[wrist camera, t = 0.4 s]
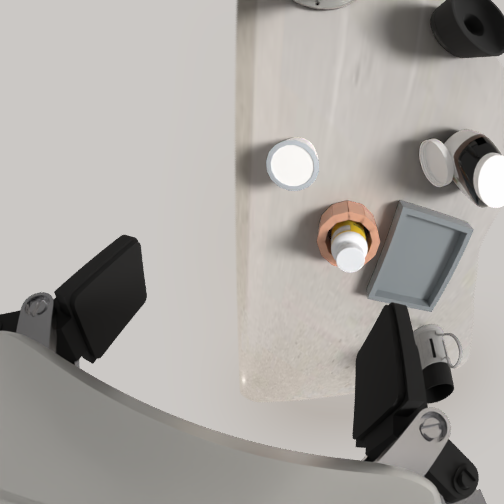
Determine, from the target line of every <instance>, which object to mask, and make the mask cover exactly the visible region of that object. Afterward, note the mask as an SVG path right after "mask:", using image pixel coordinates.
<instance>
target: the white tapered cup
mask: <svg viewBox="0 0 504 504" xmlns="http://www.w3.org/2000/svg"><path fill="white" fill-rule="evenodd" d="M266 167H267V172H268V174H269V176H270V178H271V180H272V181H273V182H274V183H275V184H277V185H278V186H279V187H281V188H283V189H286V190H289V191H299V190H302V189H304V188H307V187H309V186H310V185H311V184H312V183H313V182H314V181H315V180H316V177H317V175H318V172H319V160H318V156H317V153H316V150H315V148H314V146H313V144H311V143H310V142H309V141H308V140H306V139H304V138H301V137H293V138H290V139H287V140H285V141H283V142H280V143H278V144H276V145H275V146H274V147H273V148H272V149H271V150H270V152H269V154H268V157H267V160H266Z"/></svg>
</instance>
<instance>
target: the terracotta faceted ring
mask: <svg viewBox="0 0 504 504" xmlns="http://www.w3.org/2000/svg"><path fill="white" fill-rule="evenodd" d="M345 220H352V221H357V222H361V223H362V224H363V225H364V226H365V227H366V228H367V229H368V234H367V237H366V241H367V246H368V251H367V255H366V257H365V262H364V265H365V264H366V263H367V262H368V261H369V260H371V259H372V258H373V257H374V256H375V255H376V252H377V249H378V246H379V244H380V239H379V234H378V230H377V226H376V223H375V219H374V216H373V214H372V213H371V212H370V211H369V210H368V209H367V208H366V207H365V206H364V205H362V204H360V203H356V202H352V201H343V202H339V203H336V204H332V205H331V206H330V207H329V208H328V209H327V210H326V211H325V212H324V213H323V214H322V215H321V220H320V224H319V228H318V237H317V244H318V247H319V250H320V253H321V255H322V257H324V258H325V259H326V260H327V261H328V262H330V263H331V264H332V265H333V266H337V263H336V260H335V259H334V258H333V256H332V253H331V240H330V239H329V237H328V234H327V232H328V231H329V230H330V229H331V228H332V227H333V226H334V225H335V224H336V223H338V222H342V221H345ZM337 267H338V266H337Z"/></svg>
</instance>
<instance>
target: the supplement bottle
mask: <svg viewBox="0 0 504 504" xmlns="http://www.w3.org/2000/svg"><path fill="white" fill-rule="evenodd" d="M367 251H368V246H367V241H366V236H365V231H364V227H363V224H362V223H361V222H357V221H352V220H345V221H342V222H338V223H336V224H335V225H334V226H333V227H332V228H331V253H332V256H333V258H334V259H335V260H336V263H337V266H338V267H339V268H340V269H341V270H342V271H344V272H348V273H352V272H356V271H358V270H360V269H361V268H362V267H363V265H364V262H365V257H366V255H367Z"/></svg>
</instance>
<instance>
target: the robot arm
mask: <svg viewBox="0 0 504 504" xmlns="http://www.w3.org/2000/svg"><path fill="white" fill-rule="evenodd" d="M293 1H295V2H297V3H299V4H301V5H303V6H306V7H310V8H315V9H326V10H328V9H337V8H341V7H344V6H346V5H349V4H351V3H352V2H353V1H355V0H293ZM316 3H318V4H319V5H315V4H316ZM54 293H55V295H56V298H55V299H54V300H53V298H52V296H51V295H50V294H48V293H44V292H43V293H37V294H34V295H31V296H30V297H29V298H28V299H26V300H25V302H24V303H23V305H22V307H21V311H16V312H11V313H6V314H1V315H0V504H486V502H485V499H484V497H483V495H482V493H481V490H480V489H479V490H476V487H477V485H478V472H477V469H476V467H475V466H474V465H473V463H471V461H470V460H469V459H468V458H467V457H466V456H465V455H464V454H463V453H462V452H461V451H460V450H459V449H458V448H457V447H456V446H455V445H454V444H453V443H452V442H451V441H450V440H449V436H450V434H451V425H450V421H449V419H448V417H447V416H446V415H445V413H444V412H442V411H441V410H439V409H437V408H433V407H429V408H428V407H427V398H426V391H425V384H424V378H423V372H422V366H421V360H420V355H419V350H418V347H417V345H416V344H415V339H414V334H413V330H412V325H411V321H410V317H409V313H408V309H407V306H406V305H403V304H399V303H394V302H391V303H390V304H389V305H385V306H384V308H383V309H382V311H381V313H380V315H379V317H378V319H377V321H376V322H375V324H374V326H373V328H372V330H371V332H370V333H369V335H368V337H367V339H366V340H365V342H364V344H363V345H362V347H361V349H360V350H359V352H358V354H357V358H356V381H355V406H354V423H353V439H356V447H364V448H366V457H364V458H363V459H362V460H361V461H359V460H350V459H341V458H333V457H326V456H320V455H314V454H308V453H302V452H297V451H291V450H286V449H281V448H277V447H272V446H268V445H264V444H260V443H256V442H252V441H248V440H244V439H241V438H237V437H234V436H230V435H227V434H224V433H221V432H218V431H215V430H211V429H209V428H206V427H203V426H199V425H197V424H194V423H192V422H189V421H186V420H183V419H181V418H178V417H176V416H173V415H171V414H169V413H166V412H164V411H161V410H159V409H157V408H155V407H152V406H150V405H148V404H146V403H143V402H141V401H139V400H137V399H135V398H133V397H131V396H129V395H127V394H125V393H123V392H121V391H119V390H117V389H115V388H113V387H111V386H109V385H108V384H106V383H104V382H102V381H100V380H98V379H97V378H95V377H93V376H92V375H90V374H88V373H86V372H85V371H83V370H82V369H80V368H79V359H80V357H81V356H82V357H83V358H84V359H86V360H88V361H89V362H91V363H94V362H95V360H96V359H97V358H101V357H102V355H103V354H104V353H105V352H106V350H107V349H108V348H109V346H110V345H111V344H112V343H113V341H114V340H115V339H116V338H117V336H118V335H119V334H120V332H121V331H122V330H123V329H124V327H125V326H126V325H127V324H128V322H129V321H130V320H131V319H132V317H133V316H134V315H135V314H136V313H137V311H138V310H139V309H140V307H141V306H142V305H143V304H144V303H145V301H146V298H147V293H146V286H145V279H144V271H143V263H142V254H141V245H140V243H139V242H138V240H137V239H136V238H135V237H131V236H127V235H122V236H120V237H119V238H118V239H116V240H115V241H114V242H113V243H112V244H110V245H109V246H108V247H106V248H105V249H104V250H102V251H101V252H100V253H99V254H98V255H96V256H95V257H94V258H93V259H92V260H90V261H89V262H88V263H87V264H85V265H84V266H83V267H82V268H81V269H80V270H78V272H76V273H75V274H74V275H73V276H71V278H69V279H68V280H67V281H66V282H65V283H64V284H62V285H61V286H60V287H59V288H58V289H57V290H56V291H55V292H54Z"/></svg>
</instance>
